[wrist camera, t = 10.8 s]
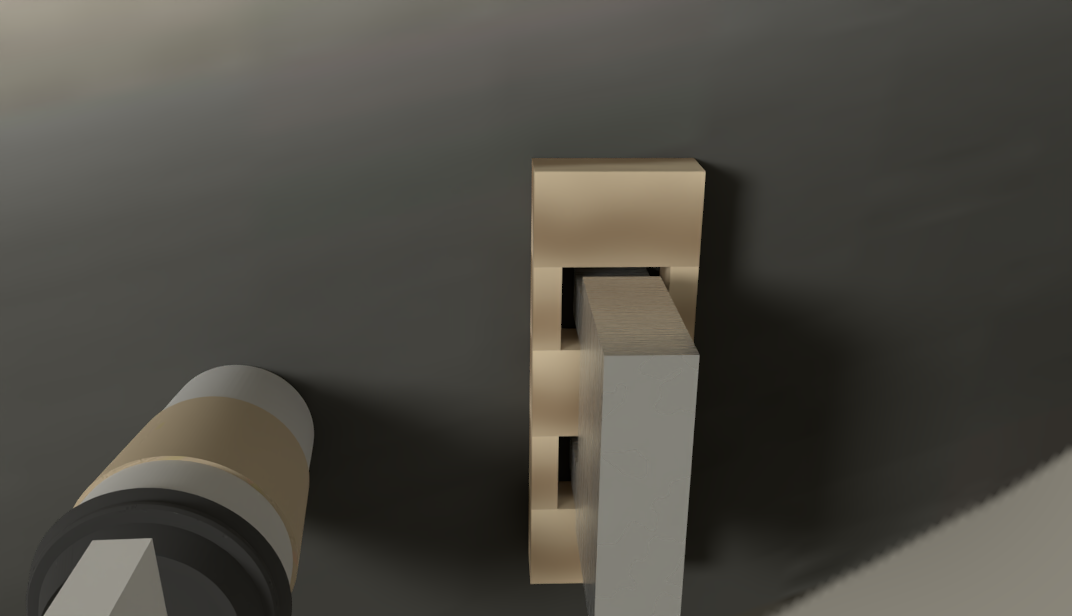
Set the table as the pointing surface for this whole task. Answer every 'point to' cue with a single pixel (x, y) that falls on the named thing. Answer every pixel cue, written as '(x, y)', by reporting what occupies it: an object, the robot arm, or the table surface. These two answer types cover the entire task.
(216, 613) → the coffee cup
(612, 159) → the wooden ladder frame
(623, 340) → the grey flat block
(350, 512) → the table surface
